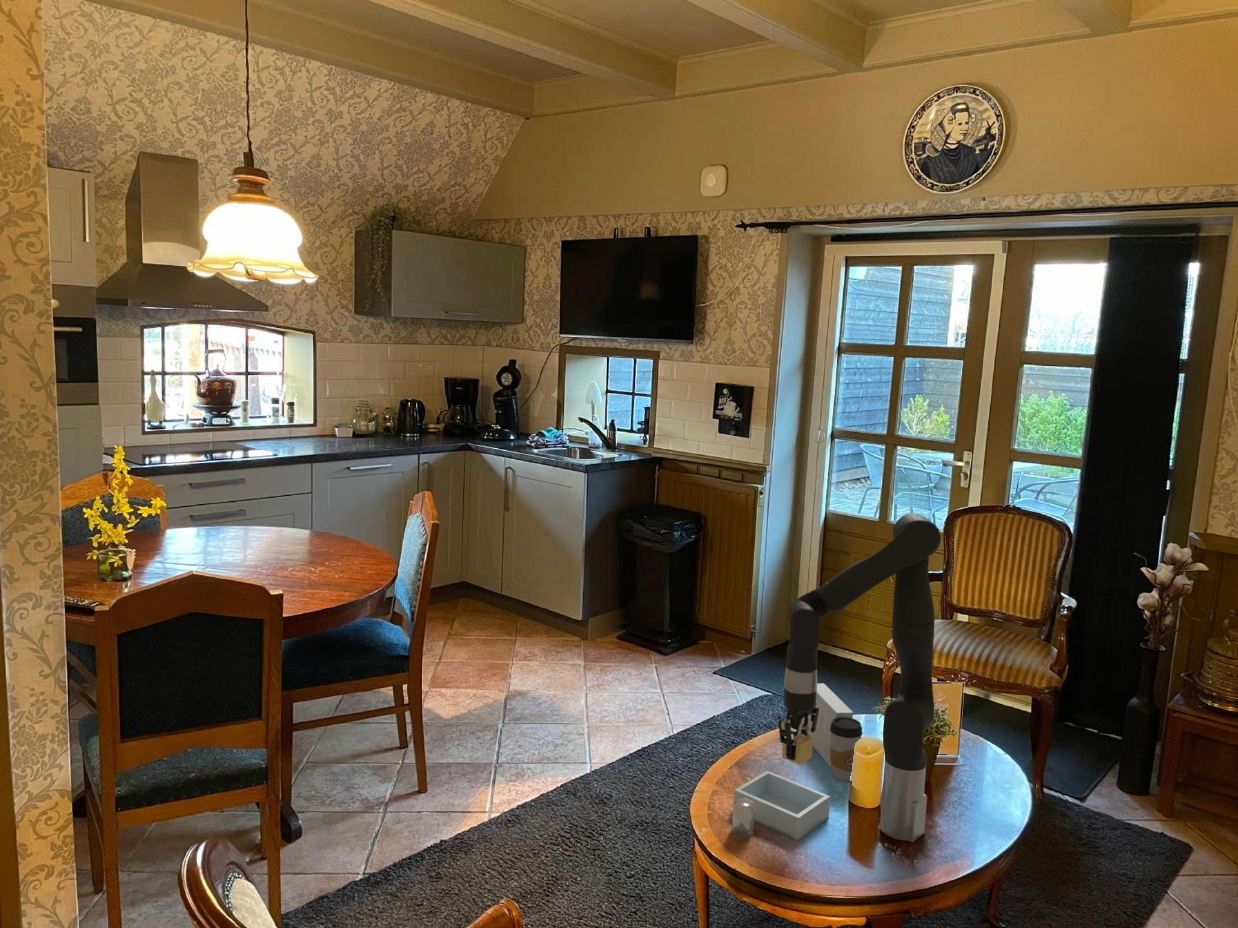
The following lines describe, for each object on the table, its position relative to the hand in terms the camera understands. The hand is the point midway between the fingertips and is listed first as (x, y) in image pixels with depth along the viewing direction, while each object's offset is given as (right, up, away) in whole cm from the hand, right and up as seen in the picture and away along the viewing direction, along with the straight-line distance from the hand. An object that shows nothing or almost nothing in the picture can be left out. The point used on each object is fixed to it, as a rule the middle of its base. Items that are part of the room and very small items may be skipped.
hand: (797, 754), depth 218 cm
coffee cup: (+17, -14, +26) cm, 34 cm away
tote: (-3, -16, +6) cm, 18 cm away
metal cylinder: (-13, -17, -2) cm, 22 cm away
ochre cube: (0, -1, 0) cm, 1 cm away
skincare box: (+16, -12, +41) cm, 45 cm away
